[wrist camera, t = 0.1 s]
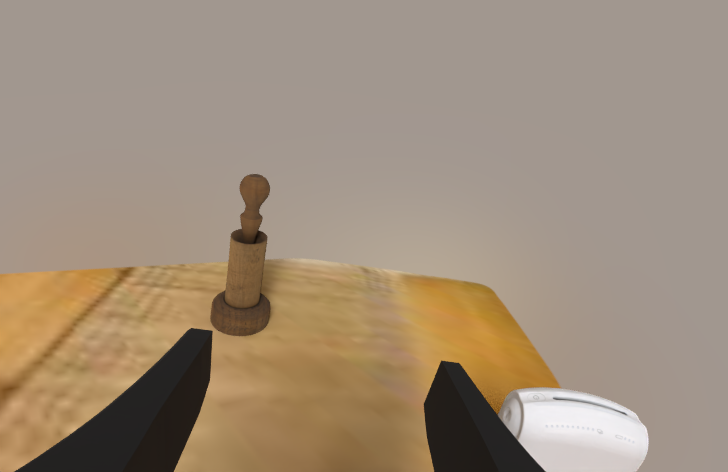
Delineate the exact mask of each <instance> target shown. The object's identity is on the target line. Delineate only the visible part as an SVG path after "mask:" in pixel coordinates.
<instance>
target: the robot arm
mask: <svg viewBox="0 0 728 472" xmlns="http://www.w3.org/2000/svg"><path fill="white" fill-rule="evenodd" d="M211 350H212V331H209V330H202V329H194V328H191V329H189V330H188V331H187V332H186V333H185V334H184V335H183V336H182V337H181V338H180V339H179V340H178V342H177V343H176V344H175V345H174V346H173V347H172V348H171V349H170V350H169V351H168V352H167V353H166V354H165V355H164V356H163V357H162V358H161V359H160V360H159V361H158V362H157V363H156V364H155V365H154V366H152V367H151V368H150V369H149V370H148V371H147V372H146V373H145V374H144V375H143V376H142V377H141V378H140V379H139V380H137V381H136V382H135V383H134V384H133V385H132V386H131V387H129V388H128V389H127V390H126V391H125V392H124V393H122V394H121V395H120V396H119V397H118V398H117V399H115V400H114V401H113V402H112V403H111V404H110V405H108V406H107V407H106V408H105V409H103V410H102V411H101V412H100V413H98V414H97V415H96V416H94V417H93V418H92V419H91V420H89V421H88V422H87V423H85V424H84V425H83V426H81V427H80V428H78V429H77V430H76V431H74V432H73V433H72V434H70V435H69V436H67V437H66V438H65V439H63V440H62V441H60V442H59V443H57V444H56V445H54V446H53V447H51V448H50V449H49V450H47V451H46V452H44V453H43V454H41V455H40V456H38V457H37V458H35V459H34V460H32V461H31V462H29V463H27V464H26V465H24V466H23V467H21V468H20V469H18V470H16V471H15V472H174V470H175V467H176V465H177V463H178V461H179V458H180V456H181V454H182V452H183V449H184V447H185V445H186V443H187V440H188V438H189V436H190V434H191V431H192V429H193V427H194V424H195V422H196V420H197V417H198V415H199V413H200V410H201V407H202V404H203V400H204V397H205V394H206V391H207V388H208V385H209V381H210V370H211ZM424 412H425V423H426V432H427V439H428V444H429V449H430V453H431V458H432V463H433V467H434V472H546V471H545V470H544V469H543V468H542V467H541V466H540V465H539V464H538V463H537V462H536V461H535V460H534V459H533V457H532V456H531V455H530V454H529V453H528V452H527V451H526V449H525V448H524V447H523V446H522V445H521V444H520V442H519V441H518V440H517V439H516V438H515V436H514V435H513V434H512V433H511V432H510V430H509V429H508V428H507V427H506V425H505V424H504V423H503V422H502V420H501V419H500V418H499V416H498V415H497V414H496V413H495V411H494V410H493V409H492V407H491V406H490V405H489V403H488V402H487V401H486V399H485V398H484V396H483V395H482V394H481V392H480V391H479V390H478V388H477V387H476V385H475V384H474V383H473V381H472V380H471V379H470V377H469V376H468V374H467V373H466V372H465V370H464V369H463V368H462V366H461V365H460V364H459V363H454V362H447V361H441V363H440V365H439V368H438V370H437V373H436V375H435V378H434V380H433V383H432V385H431V388H430V390H429V393H428V395H427V398H426V400H425V403H424Z"/></svg>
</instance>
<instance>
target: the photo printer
mask: <svg viewBox="0 0 728 472" xmlns="http://www.w3.org/2000/svg"><path fill="white" fill-rule="evenodd" d="M498 416H499V418H500V419H501V420H502V422H503V423H504V424H505V425H506V427H507V428H508V429H509V430H510V432H511V433H512V434H513V435H514V436H515V438H516V439H517V440H518V441H519V442H520V444H521V445H522V446H523V447H524V448H525V449H526V451H527V452H528V453H529V454H530V455H531V456H532V457H533V459H534V460H535V461H536V462H537V463H538V464H539V465H540V466H541V467H542V468H543V469H544V470H545V471H546V472H636V471H637V470H638V468H639V467H640V465H641V464H642V462H643V461H644V459H645V457H646V454H647V451H648V441H649V440H648V434H647V429H646V427H645V426H644V425H643V424H642V423H641V422H640V420H639V418H638V416H637V414H635V413H634V412H632V411H631V410H629V409H627V408H625V407H624V406H622V405H619V404H617V403H615V402H613V401H610V400H608V399H605V398H602V397H599V396H596V395H592V394H588V393H584V392H580V391H574V390H568V389H560V388H525V389H518V390H514V391H511V392H510V393H509V394H508V395H507V396H506V398H505V400H504V403H503V405H502V407H501V409H500V412H499V414H498Z"/></svg>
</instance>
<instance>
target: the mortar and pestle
mask: <svg viewBox="0 0 728 472" xmlns="http://www.w3.org/2000/svg"><path fill="white" fill-rule="evenodd" d="M240 192H241V195H242V197H243V200H244V202H245V204H246V208H245V211H244V213H242V214H241V215H240V216H241V217H240V218H241V226H242V229H239V230H236V231H234V232H232V234H231V240H230V252H229V263H228V273H227V282H226V290H225V291H224V292H222V293H220V294H218V295H217V296H216V297H215V298H214V300H213V302H212V309H211V323H212V325H213V326H214V327H215V328H216V329H217V330H219V331H220V332H223V333H225V334H229V335H235V336H246V335H251V334H255V333H257V332H259V331H261V330H263V329H264V328H265V326H266V325H267V323H268V320H269V312H270V302H269V300H268V299H267V298H266V297H265V296H264V295H263V294H261V293H260V291H261V283H262V275H263V267H264V260H265V252H266V244H267V235H266V234H265V233H263V232H261V231H259V230H258V229H259V227H260V224H261V222H262V216H261V215H260V214H259V209H260V206H261V205H262V203H263V202H264V201H265V200H266V198H267V197H268V195H269V192H270V186H269V183H268V181H267V179H266V178H264V177H263V176H262V175H258V174H251V175H248V176H246V177H244V179H243V180H242V181H241V184H240Z"/></svg>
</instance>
